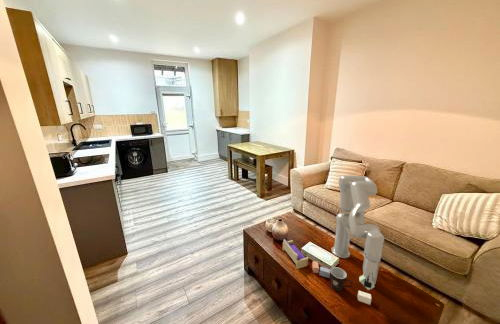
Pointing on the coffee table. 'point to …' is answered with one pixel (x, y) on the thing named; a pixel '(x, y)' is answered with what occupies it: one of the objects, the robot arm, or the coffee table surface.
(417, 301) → the coffee table surface
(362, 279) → the sage brick
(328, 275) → the slate brick
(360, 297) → the cream brick
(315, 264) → the terracotta brick
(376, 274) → the water bottle
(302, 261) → the toy sofa
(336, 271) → the coffee mug
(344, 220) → the robot arm
